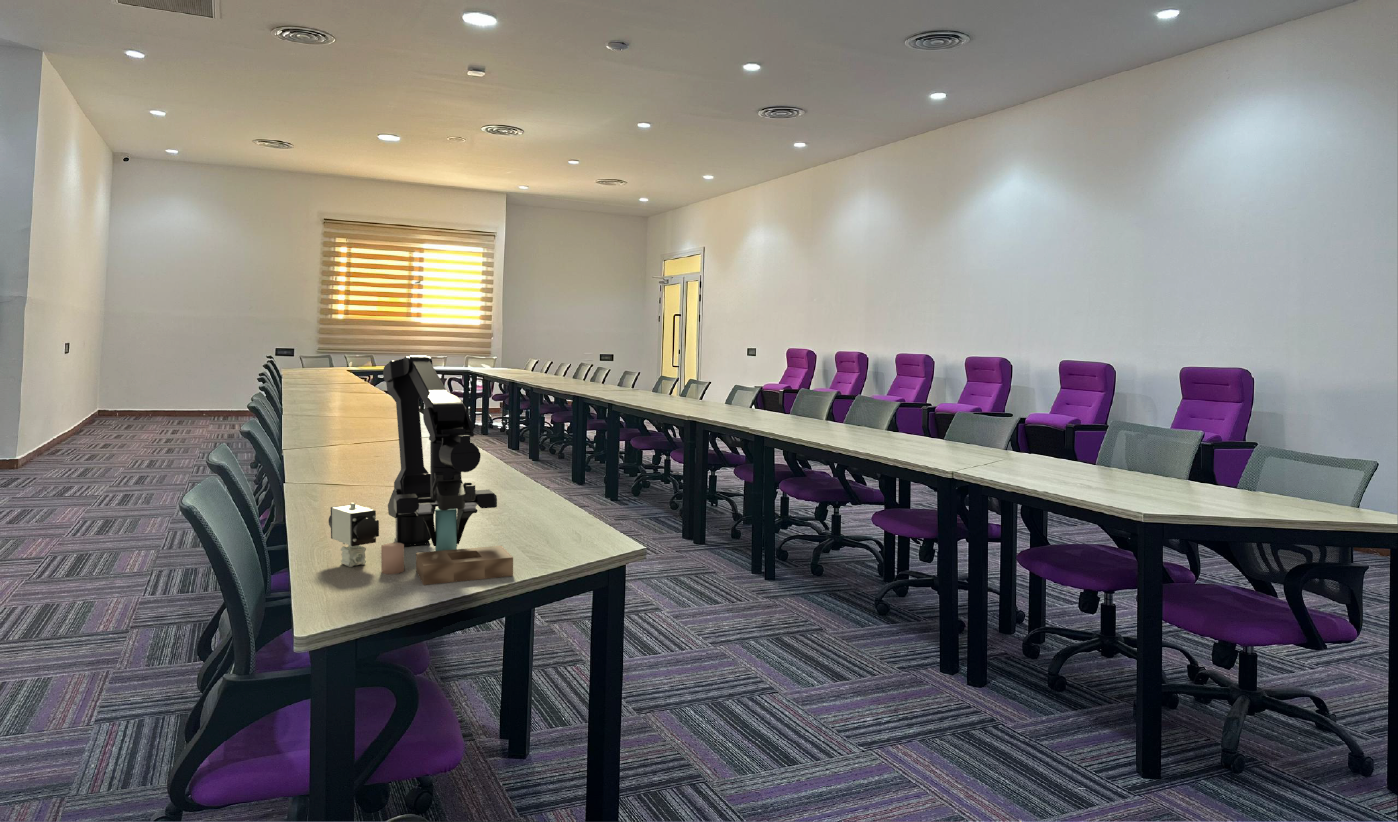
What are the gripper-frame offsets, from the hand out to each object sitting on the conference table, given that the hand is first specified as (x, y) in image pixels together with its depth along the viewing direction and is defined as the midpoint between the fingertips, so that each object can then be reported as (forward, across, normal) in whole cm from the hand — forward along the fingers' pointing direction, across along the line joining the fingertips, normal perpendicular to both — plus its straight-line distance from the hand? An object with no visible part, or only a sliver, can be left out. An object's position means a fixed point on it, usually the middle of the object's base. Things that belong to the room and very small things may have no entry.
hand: (446, 544), depth 161 cm
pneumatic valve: (+4, -16, +6) cm, 18 cm away
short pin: (+4, -10, -2) cm, 11 cm away
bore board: (+4, +2, -8) cm, 9 cm away
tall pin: (+3, 0, 0) cm, 3 cm away
